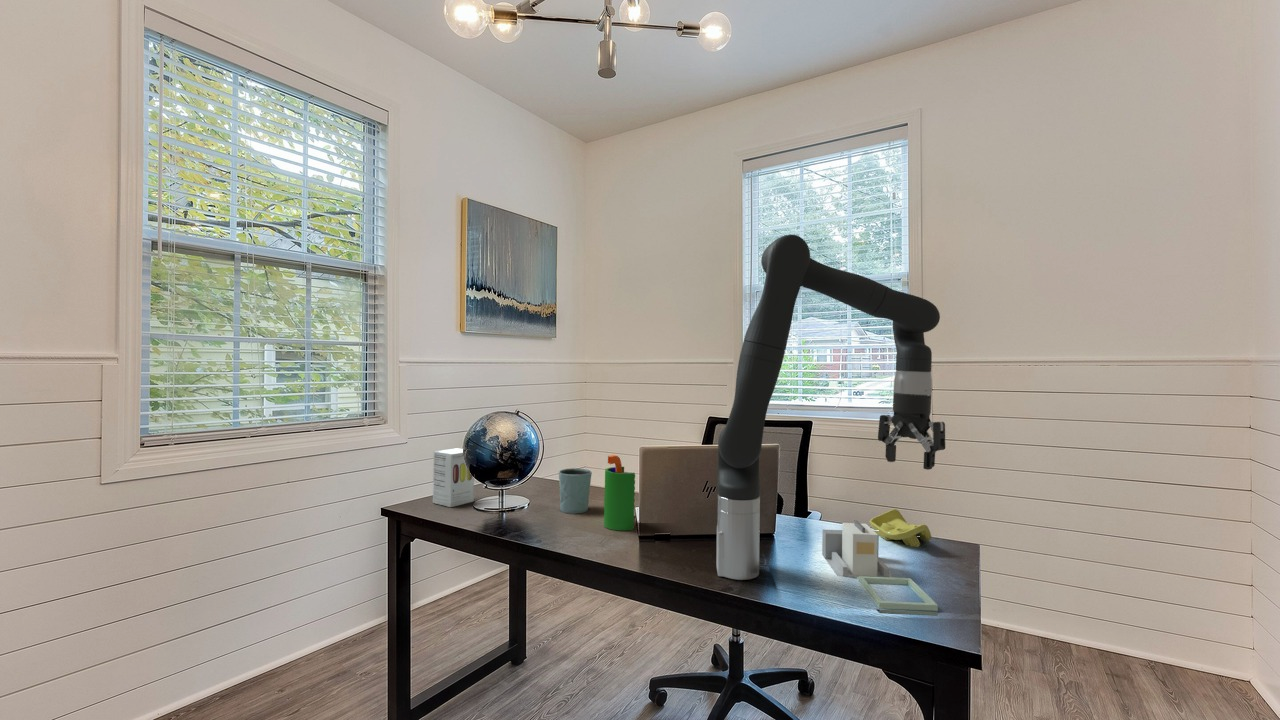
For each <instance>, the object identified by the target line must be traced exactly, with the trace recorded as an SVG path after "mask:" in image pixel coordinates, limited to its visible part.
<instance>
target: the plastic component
mask: <svg viewBox="0 0 1280 720" xmlns="http://www.w3.org/2000/svg"><path fill="white" fill-rule="evenodd" d="M869 524H870V525H871V529H872V530H873V529H874V530H879V531H874V530H873V531H874V532H876V533H877V534H878V535H879V537H881V538H883V539H884V540H885V541H887V542H888V541H891V540H895V541H898V540H899V541H900V540H902V541H903V544H904V545H905V546H909V547H920V545H921V543H920V541H919V539H920V540H921V541H924V542H929V541H931V540H932V532H931V531H930V529H929V527H928V525H927V524H925V523H924V524H923V523H922V524H919V525H917V524H910V523H908V522H907V521H906V519H905V517H903V515H902V513H901V512H900V511H899V510H898V509H896V508H892V509H890V510H888V511H886V512H883V513H880V514H879V515H876V516H874V517H872V518H871V519H870V520H869ZM888 532H890V533H888ZM917 536H920V537H917Z"/></svg>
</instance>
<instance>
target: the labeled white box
mask: <svg viewBox="0 0 1280 720" xmlns="http://www.w3.org/2000/svg"><path fill="white" fill-rule="evenodd" d="M841 528H842V529H841V530H842V560H843V562H844V563H845V564H846V565H847V567H848V570H849V571H850V573H851V574H852V575H855V576H877V562H878V558H879V546H878V534H876V533H875V532H874V530H873V528H872V527H870V526H869V525H868V524H867V523H860V522H859V520H858V519H857V520H854V522H842V526H841Z"/></svg>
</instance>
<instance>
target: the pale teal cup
mask: <svg viewBox="0 0 1280 720" xmlns="http://www.w3.org/2000/svg"><path fill="white" fill-rule="evenodd" d="M592 473H593V472H592V470H590V469H587V468H576V467H575V468H572V467H571V468H564V469H560V470H559V471H558V480H559V482H558V483H559V484H558V485H559V497H560V499H559V505H560V506H559V509H560V512H562V513H565V514H570V515H571V514H574V515H575V514H582V513H586V512H588V511H589V510H588V509H589V501H590V500H589V498H590V489H591V488H590V487H591V481H592Z"/></svg>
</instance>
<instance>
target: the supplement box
mask: <svg viewBox="0 0 1280 720" xmlns="http://www.w3.org/2000/svg"><path fill="white" fill-rule="evenodd" d="M463 449H464V448H460V447H455V448H449V449H448V448H447V449H443V450H435V451H433V465H432V466H433V468H432V469H433V470H432V472H433V475H432V476H433V479H432V481H433V482H432V484H433V485H432V503H433V504H436V505H440V506H445V507H448V508H452V507H453V508H454V507H457V506H461V505H465V504H469V503H474V500H475V498H474V495H475V494H474V493H475V492H474V491H475V477H474V478H473V476H472V475H471V474H470V472H469V470H468V468H467V466H466V463H465V460H464V456H463Z"/></svg>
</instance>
